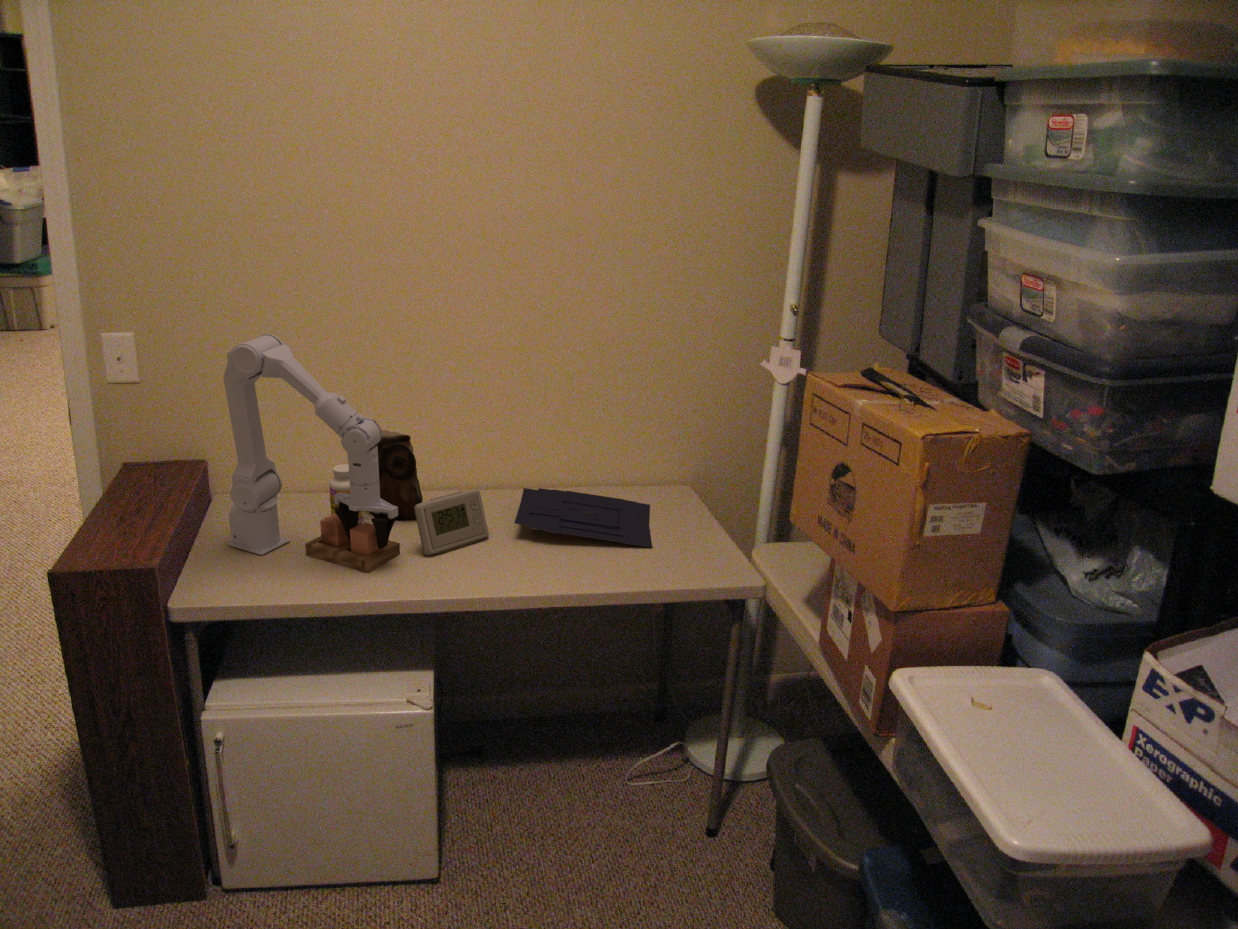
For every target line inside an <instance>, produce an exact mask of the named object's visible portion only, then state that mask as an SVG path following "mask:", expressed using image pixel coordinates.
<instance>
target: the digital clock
mask: <svg viewBox="0 0 1238 929" xmlns="http://www.w3.org/2000/svg"><path fill="white" fill-rule="evenodd" d="M414 511H415V516H416V520H415V521H416V524H417V528H418V533H419V538H420V542H421V548H422V550H423V553H424V554H425V556H432V555H436V554H438V553H440V554H442V553H445V552H449V551H451V550H455V549H458V548H460V547H461V548H462V547H465V546H467V545H471V544H474V543H476V542H477V541H481V540H484V539H486V538H488V536H489V534H490V533H489V529H488V528H489V527H488V523H487V518H486V515H485V509H484V504H483V500H482V496H481V492H480V490H479V489H478V488H472V489H468V490H464V491H463V490H462V491H457V492H454V493H449V494H446V495H443V496H438V497H435V498H431V499H429V500H426V501H422V503H419V504H417V505H415V507H414Z"/></svg>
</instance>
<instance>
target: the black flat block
mask: <svg viewBox="0 0 1238 929" xmlns="http://www.w3.org/2000/svg"><path fill="white" fill-rule="evenodd" d="M650 510H651V504H647V503H643V502H637V501H633V500H627V499H623V498H617V497H611V496H604V495H598V494H597V495H596V494H591V493H584V492H578V491H572V490H571V491H570V490H559V489H547V488H540V487H538V489H533V488H528V487H527V488H526V487H523V491H522V495H521V499H520V503H519V506H518V510H517V513H516V516H515V519H514V522H513V523H514V524H515V525H521V526H527V527H528V529H534V530H541V531H544V532H546V533H547V532H548V533H552V534H553V533H555V534H560V535H571V536H578V537H583V538H590V539H596V540H597V539H598V540H602V541H603V540H605V541H609V542H617V543H621V544H626V545H627V544H628V545H632V546H638V547H639V546H641V547H645V548H646V547H647V548H653V544H652V538H651V530H650V514H651V512H650Z"/></svg>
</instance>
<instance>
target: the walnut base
mask: <svg viewBox="0 0 1238 929" xmlns="http://www.w3.org/2000/svg"><path fill="white" fill-rule="evenodd" d="M319 521H320V523H319V524H320V535H319V536H318V537H316V538H314V539H311V540H309V541H308V542H306V543H305V544H304V547H305V555H306V556H308V557H309V556H310V557H313V558H316V559H319V560H322V561H326V562H329V563H333V564H336V565H340V566H343V567H346V568H350V569H353V570H356V571H359V572H363V573H366V574H370V572H373V571H375V570H376V569H377V568H379V567H381V566H383V565H385V564H386V563H388V562H389V561H391V560H393V559H394V558H397V557H398V556H400V555H401V544H400V542H397V541H394V540H391V539H390V540H388V545H387V546H386V547H384V548H382V549H379V550H378V551H376V552H374V553H372V554H370V555H369V556H364V555H360V554H357V553H353V552H351V541H350V540H348V537H347V534H346V531H345V529H344V526H343V524H342V522H341V520H340V519H339V517H338V516H337V515H336V514H333V515H331V514H330V515H328V516H327V517H324V518H323V519H320V520H319Z"/></svg>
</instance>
